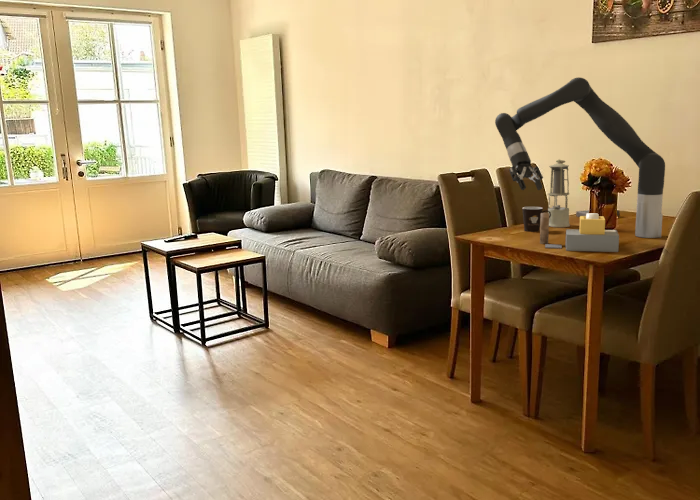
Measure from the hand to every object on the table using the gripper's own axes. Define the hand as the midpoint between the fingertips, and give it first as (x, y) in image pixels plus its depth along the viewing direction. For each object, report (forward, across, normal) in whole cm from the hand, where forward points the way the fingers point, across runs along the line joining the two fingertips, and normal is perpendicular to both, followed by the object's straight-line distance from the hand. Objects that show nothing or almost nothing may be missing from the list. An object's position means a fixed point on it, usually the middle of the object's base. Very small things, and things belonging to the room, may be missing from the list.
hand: (532, 189), depth 258 cm
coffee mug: (+8, +16, +22) cm, 28 cm away
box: (-2, +66, +30) cm, 73 cm away
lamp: (+4, +34, +25) cm, 42 cm away
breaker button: (+28, +6, -13) cm, 32 cm away
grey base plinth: (+32, +6, -10) cm, 34 cm away
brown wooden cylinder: (+23, -1, +4) cm, 23 cm away
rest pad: (+27, -3, -2) cm, 27 cm away
